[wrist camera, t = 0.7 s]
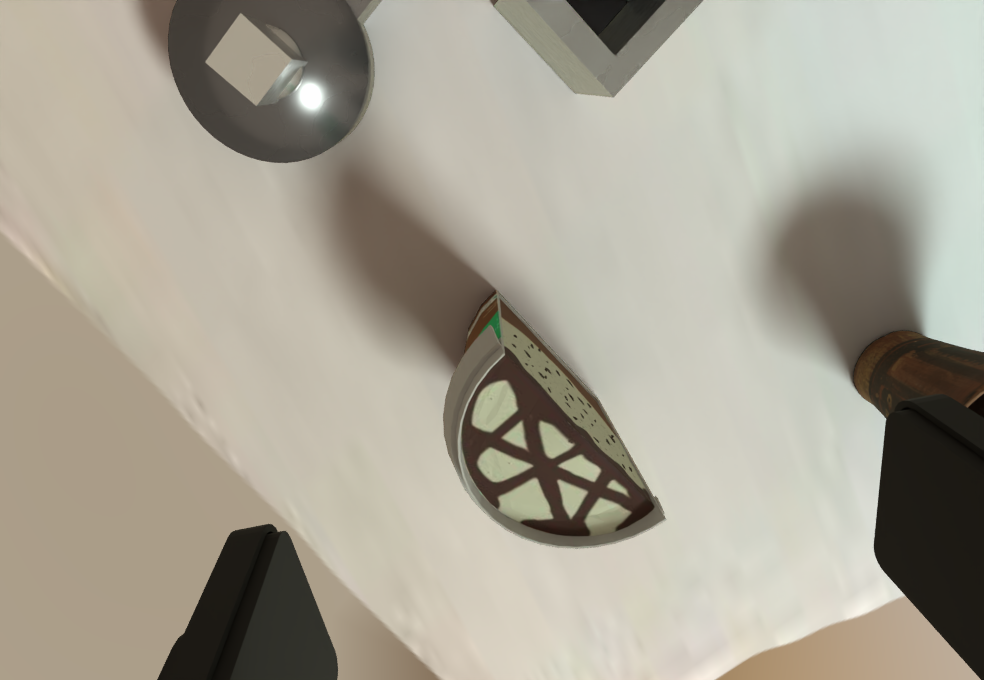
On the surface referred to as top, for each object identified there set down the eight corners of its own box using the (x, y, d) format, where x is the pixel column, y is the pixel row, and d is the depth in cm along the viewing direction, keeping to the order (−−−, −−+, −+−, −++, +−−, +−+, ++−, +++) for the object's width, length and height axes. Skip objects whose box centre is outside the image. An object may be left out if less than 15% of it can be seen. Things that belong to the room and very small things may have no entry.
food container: (394, 342, 34) (380, 440, 25) (477, 270, 33) (494, 343, 24) (535, 475, 38) (567, 601, 29) (613, 415, 37) (673, 526, 28)
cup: (841, 283, 34) (1014, 369, 25) (966, 292, 36) (1163, 374, 28) (786, 418, 38) (920, 534, 29) (902, 419, 40) (1059, 527, 31)
